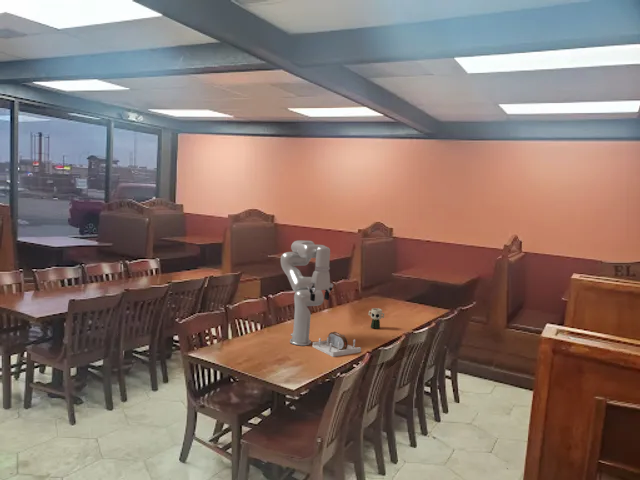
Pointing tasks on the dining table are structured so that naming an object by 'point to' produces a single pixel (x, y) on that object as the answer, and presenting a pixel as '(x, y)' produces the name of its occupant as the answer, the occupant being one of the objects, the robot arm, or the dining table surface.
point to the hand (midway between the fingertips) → (319, 300)
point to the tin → (338, 340)
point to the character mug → (376, 317)
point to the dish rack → (333, 351)
